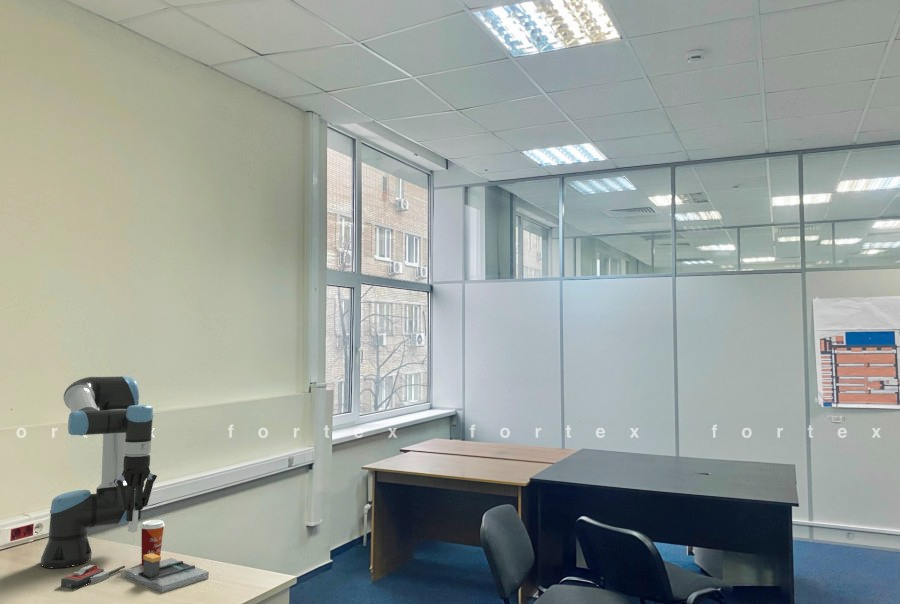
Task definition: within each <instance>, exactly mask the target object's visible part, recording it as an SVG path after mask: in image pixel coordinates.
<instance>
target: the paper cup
mask: <svg viewBox="0 0 900 604" xmlns="http://www.w3.org/2000/svg"><path fill="white" fill-rule="evenodd" d="M165 526H166V524H165V521H164V520H162V519H148V520H145V521H142V523H141V526H140V528H141V566H144V559H143V555H146V554H150V553H153V554H156V555H158V556H161V554H162V553H161V552H162V545H163V536H164V527H165Z"/></svg>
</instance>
